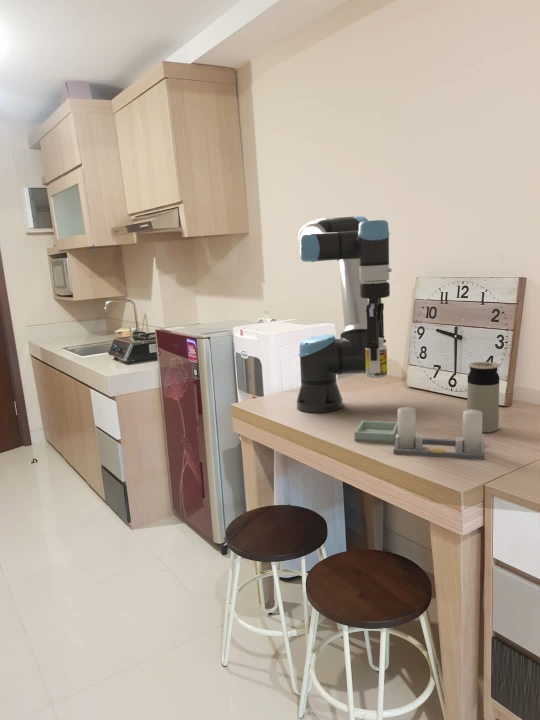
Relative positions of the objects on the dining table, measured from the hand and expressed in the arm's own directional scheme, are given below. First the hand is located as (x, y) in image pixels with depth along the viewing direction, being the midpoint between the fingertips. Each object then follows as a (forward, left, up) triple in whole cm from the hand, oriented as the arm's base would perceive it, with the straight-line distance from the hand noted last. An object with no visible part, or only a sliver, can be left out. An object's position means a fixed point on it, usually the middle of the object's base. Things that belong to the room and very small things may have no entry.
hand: (376, 369), depth 145 cm
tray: (0, 0, -19) cm, 19 cm away
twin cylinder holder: (+16, -8, -19) cm, 26 cm away
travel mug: (+27, +11, -19) cm, 34 cm away
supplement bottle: (0, 0, -2) cm, 2 cm away
